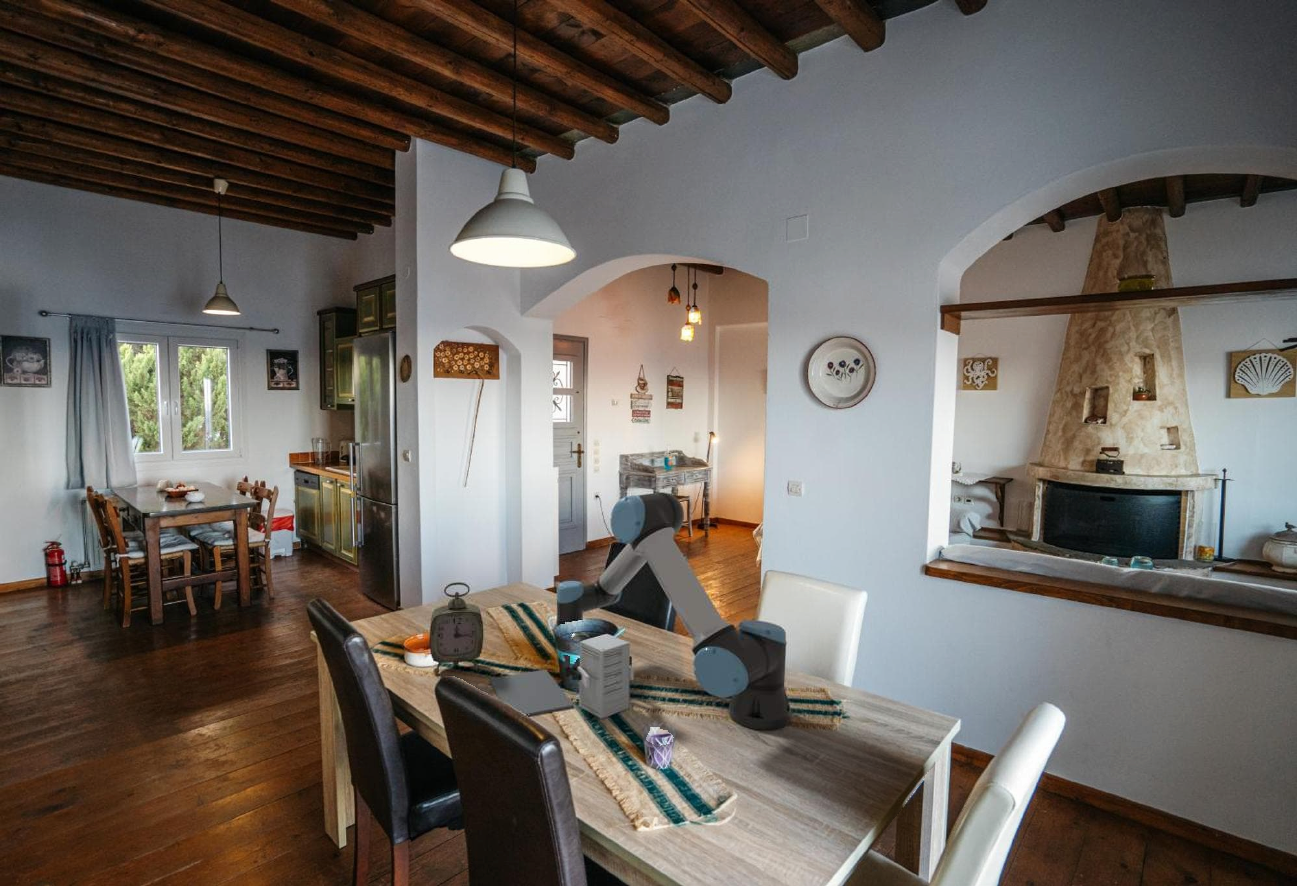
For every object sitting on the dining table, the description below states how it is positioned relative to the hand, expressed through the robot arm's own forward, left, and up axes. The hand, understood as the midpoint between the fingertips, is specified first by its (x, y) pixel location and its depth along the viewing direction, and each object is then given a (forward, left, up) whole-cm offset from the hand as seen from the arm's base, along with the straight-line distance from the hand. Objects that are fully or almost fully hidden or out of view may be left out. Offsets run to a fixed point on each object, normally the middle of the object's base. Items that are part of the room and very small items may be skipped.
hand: (610, 678), depth 156 cm
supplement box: (+4, 0, -9) cm, 10 cm away
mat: (+19, +15, -9) cm, 26 cm away
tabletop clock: (+43, +30, -9) cm, 53 cm away
